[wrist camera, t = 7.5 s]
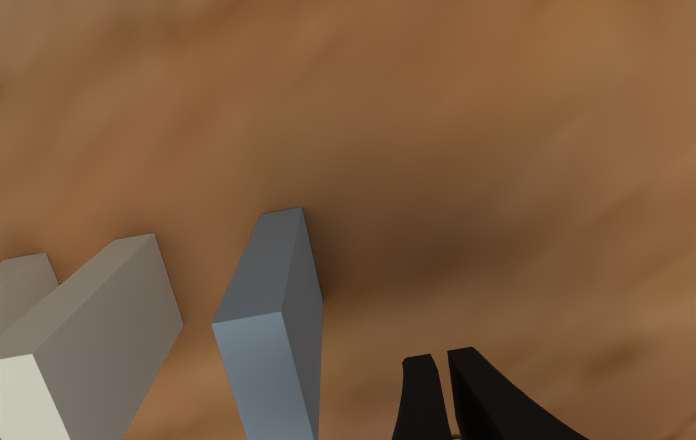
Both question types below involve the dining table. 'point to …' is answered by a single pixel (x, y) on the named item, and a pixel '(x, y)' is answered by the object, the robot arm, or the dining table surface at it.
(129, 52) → the dining table surface
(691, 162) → the dining table surface
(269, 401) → the slate tile
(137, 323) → the ivory tile
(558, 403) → the dining table surface
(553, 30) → the dining table surface
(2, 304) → the tile
